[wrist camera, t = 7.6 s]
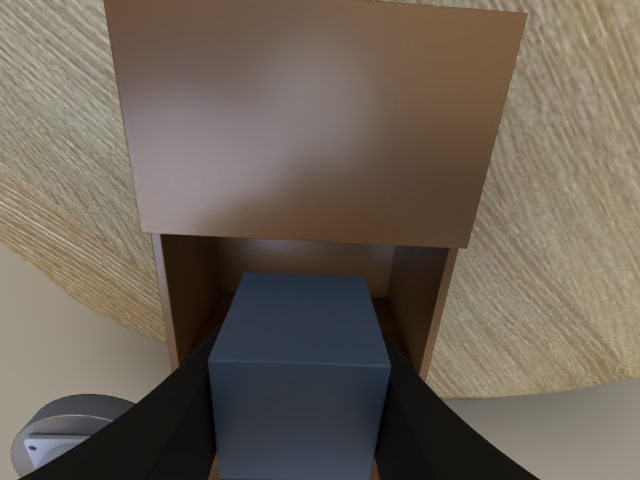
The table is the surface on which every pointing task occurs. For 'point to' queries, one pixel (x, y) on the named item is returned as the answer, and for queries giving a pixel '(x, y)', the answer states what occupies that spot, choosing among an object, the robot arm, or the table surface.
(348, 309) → the block
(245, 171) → the carton
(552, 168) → the table surface
